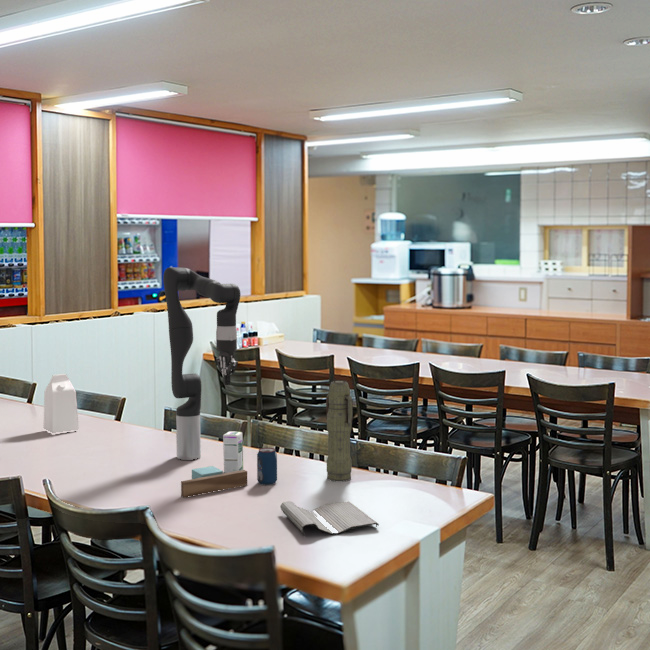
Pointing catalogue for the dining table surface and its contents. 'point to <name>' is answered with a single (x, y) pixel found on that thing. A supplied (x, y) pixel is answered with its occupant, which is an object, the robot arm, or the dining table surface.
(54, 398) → the milk
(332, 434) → the thermos
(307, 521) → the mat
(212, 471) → the block
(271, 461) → the soda can
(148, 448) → the dining table surface
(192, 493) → the board
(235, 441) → the syrup box
